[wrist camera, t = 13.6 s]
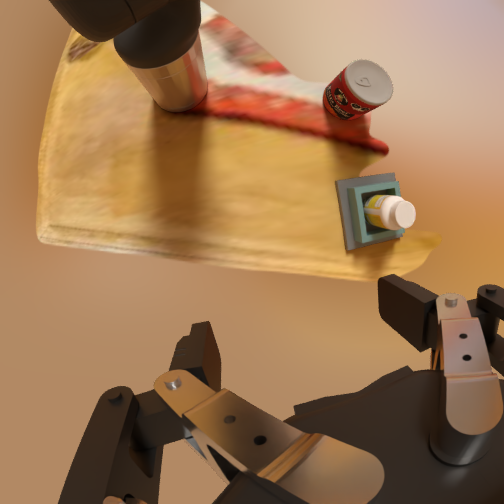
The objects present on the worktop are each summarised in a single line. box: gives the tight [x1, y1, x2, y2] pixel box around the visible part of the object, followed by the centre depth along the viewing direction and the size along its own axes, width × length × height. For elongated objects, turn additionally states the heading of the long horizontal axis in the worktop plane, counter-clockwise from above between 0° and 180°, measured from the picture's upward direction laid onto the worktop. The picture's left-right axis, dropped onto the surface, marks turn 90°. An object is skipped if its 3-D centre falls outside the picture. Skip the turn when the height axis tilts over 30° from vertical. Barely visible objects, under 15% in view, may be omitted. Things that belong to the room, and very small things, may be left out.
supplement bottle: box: [363, 195, 416, 230], centre depth 40 cm, size 5×5×10 cm
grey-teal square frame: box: [335, 173, 405, 250], centre depth 43 cm, size 12×12×4 cm
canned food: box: [323, 59, 393, 120], centre depth 36 cm, size 8×8×11 cm
